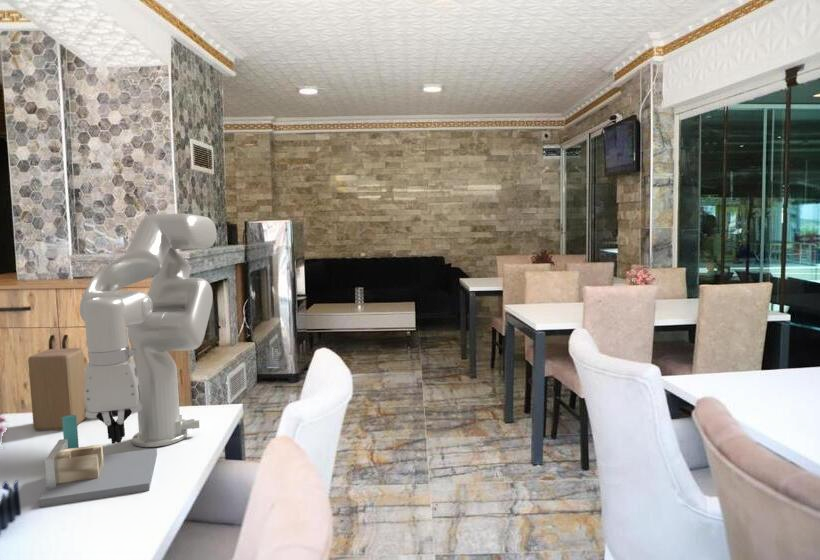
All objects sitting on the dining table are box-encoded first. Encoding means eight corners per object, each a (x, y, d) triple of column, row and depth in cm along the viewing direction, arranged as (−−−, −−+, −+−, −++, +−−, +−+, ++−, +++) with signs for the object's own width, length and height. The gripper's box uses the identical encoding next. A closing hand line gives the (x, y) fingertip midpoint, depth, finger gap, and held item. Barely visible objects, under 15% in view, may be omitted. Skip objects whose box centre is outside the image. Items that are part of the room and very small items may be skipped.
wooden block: (52, 419, 163) (46, 348, 161) (89, 417, 164) (84, 347, 162) (32, 432, 153) (26, 356, 151) (72, 430, 154) (66, 355, 152)
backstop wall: (69, 465, 126) (67, 438, 126) (56, 488, 115) (53, 459, 115) (61, 466, 126) (59, 439, 125) (47, 490, 115) (44, 460, 114)
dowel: (80, 456, 136) (77, 414, 135) (78, 461, 133) (74, 418, 132) (66, 458, 135) (63, 415, 134) (64, 463, 132) (60, 419, 131)
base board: (157, 454, 136) (156, 448, 136) (149, 490, 117) (148, 483, 117) (63, 467, 130) (63, 460, 130) (39, 507, 111) (38, 499, 111)
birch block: (103, 464, 126) (102, 444, 126) (98, 477, 120) (96, 456, 119) (66, 469, 124) (65, 449, 124) (58, 483, 117) (57, 461, 117)
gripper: (150, 348, 128) (156, 429, 131) (72, 355, 123) (81, 439, 126) (146, 357, 121) (153, 442, 123) (64, 365, 116) (73, 453, 119)
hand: (117, 440), depth 125 cm, fingers closed
